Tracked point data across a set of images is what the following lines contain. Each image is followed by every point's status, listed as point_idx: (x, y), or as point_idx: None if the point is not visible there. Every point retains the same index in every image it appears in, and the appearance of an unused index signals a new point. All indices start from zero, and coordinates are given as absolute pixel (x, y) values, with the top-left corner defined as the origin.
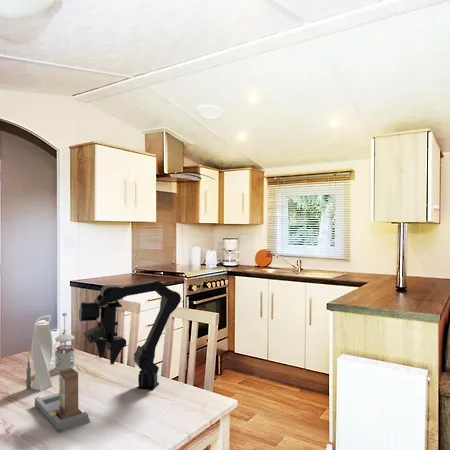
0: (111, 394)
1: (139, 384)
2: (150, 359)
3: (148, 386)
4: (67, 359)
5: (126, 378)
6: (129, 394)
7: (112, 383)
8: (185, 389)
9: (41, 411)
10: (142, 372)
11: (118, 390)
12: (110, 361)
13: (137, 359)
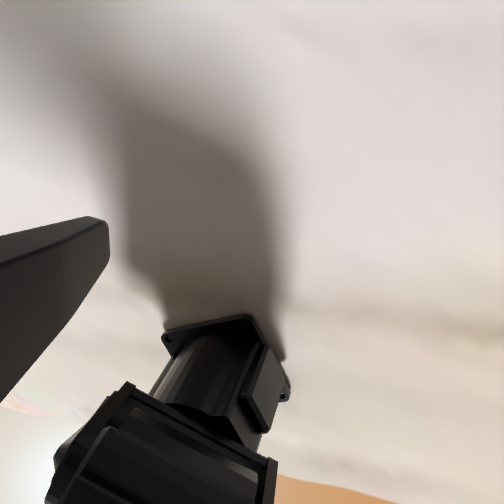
0: (335, 163)
1: (259, 347)
2: None
3: (186, 343)
4: None
5: (460, 406)
6: (224, 230)
7: (499, 311)
8: (64, 392)
9: None
10: (191, 408)
11: (346, 241)
12: (53, 232)
13: (144, 494)
